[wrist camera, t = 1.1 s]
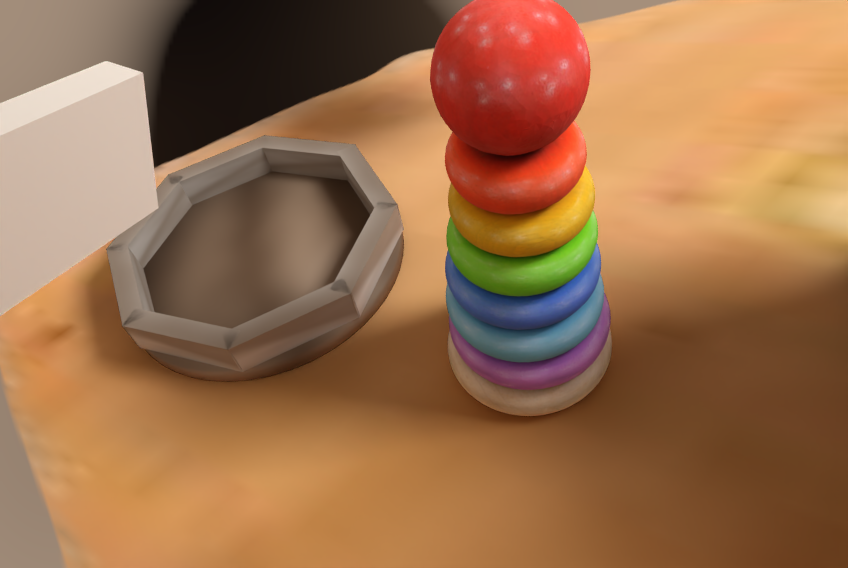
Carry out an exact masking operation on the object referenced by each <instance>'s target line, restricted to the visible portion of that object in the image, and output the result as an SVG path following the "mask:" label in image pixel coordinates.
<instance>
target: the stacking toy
mask: <svg viewBox="0 0 848 568" xmlns="http://www.w3.org/2000/svg"><path fill="white" fill-rule="evenodd" d="M589 80H590V57H589V51H588V48H587V44H586V41H585V38H584V35H583V33H582V31H581V29H580V28H579V26H578V24H577V23H576V21H575V20H574V19H573V18H572V16H571V15H570V14H569V13H568V12H567V11H566V10H565V9H564V8H563V7H561V6H560V5H559V4H557V3H556V2H554V1H552V0H474V1H472V2H470V3H469V4H467V5H466V6H465V7H463V8H462V9H461V10H460V11H459V12H458V13H456V15H454V16H453V17H452V19H451V20H449V22H448V23H447V25H446V26H445V28H444V29H443V31H442V33H441V35H440V36H439V38H438V41H437V43H436V46H435V49H434V53H433V57H432V62H431V73H430V82H431V89H432V93H433V98H434V101H435V103H436V106H437V109H438V111H439V113H440V115H441V117H442V118H443V120H444V121H445V123H446V124H447V125H448V127H449V128H450V129H451V130H452V131H453V132H452V134H451V136H450V138H449V140H448V143H447V146H446V153H445V166H446V170H447V174H448V176H449V179H450V181H451V185H450V188H449V195H448V206H449V211H450V215H451V217H450V219H449V223H448V227H447V247H448V252H447V256H446V263H445V273H446V279H447V288H446V303H447V309H448V313H449V328H450V330H449V334H448V356H449V361H450V364H451V367H452V370H453V372H454V374H455V376H456V378H457V380H458V381H459V383H460V384H461V385H462V387H463V388H464V389H465V390H466V391H467V392H468V393H469V394H470V395H471V396H472V397H474V398H475V399H476V400H478V401H479V402H481V403H482V404H484V405H486V406H488V407H490V408H492V409H494V410H497V411H500V412H503V413H507V414H512V415H519V416H537V415H545V414H550V413H554V412H557V411H560V410H563V409H565V408H568V407H570V406H572V405H574V404H575V403H577V402H578V401H580V400H582V399H583V398H584V397H585V396H587V395H588V394H589V393H590V392H591V391H592V390H593V389H594V388H595V387H596V386H597V384H598V383H599V382H600V380H601V379H602V377H603V376H604V374H605V372H606V370H607V367H608V365H609V362H610V358H611V352H612V337H611V331H610V320H611V316H610V308H609V303H608V300H607V297H606V295H605V293H604V285H603V281H602V277H601V274H600V271H601V256H600V251H599V247H598V245H597V238H598V225H597V219H596V216H595V213H594V211H593V208H594V201H595V188H594V183H593V180H592V177H591V175H590V173H589V171H588V169H587V167H586V166H585V163H586V156H587V152H586V144H585V140H584V137H583V134H582V132H581V130H580V128H579V127H578V125H577V124H576V122H575V121H574V120H575V118H576V117H577V115H578V113H579V111H580V110H581V107H582V105H583V103H584V101H585V97H586V94H587V90H588V86H589Z"/></svg>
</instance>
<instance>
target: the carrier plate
mask: <svg viewBox="0 0 848 568" xmlns="http://www.w3.org/2000/svg"><path fill="white" fill-rule="evenodd" d="M156 191H157V200H158V209H156V210H155V211H154V212H152V213H151V214H149V215H148V216H146V217H145V218H143V219H142V220H140V221H139V222H137V223H136V224H134V225H133V226H131V227H130V228H129V229H127V230H126V231H124V232H123V233H121V234H120V235H118V236H117V237H116V238H115V239H114V241H113V242H112V243H111V244H110V245H109V247H108V248H107V249H106V250H107V254H108V259H109V264H110V269H111V273H112V278H113V283H114V288H115V293H116V297H117V302H118V307H119V312H120V317H121V321H122V326H123V328H124V329H125V330H126V331H127V333H128V334H129V335H130V336H131V338H132V339H133V340H134V341H135V342H136V344H137V345H138V346H139V347H140V348H143V349H145V350H146V351H147V352H148V353H149V354H150V356H151V357H153V358H154V359H155V360H157V361H158V362H159V363H161V364H162V365H163V366H165V367H167V368H169V369H171V370H173V371H175V372H177V373H180V374H183V375H186V376H189V377H192V378H198V379H204V380H209V381H243V380H252V379H257V378H263V377H268V376H272V375H275V374H279V373H282V372H285V371H289V370H292V369H294V368H297V367H299V366H301V365H304V364H306V363H309V362H311V361H313V360H315V359H316V358H318V357H320V356H322V355H324V354H326V353H328V352H329V351H331V350H332V349H334V348H335V347H337V346H338V345H340V344H341V343H343V342H344V341H346V340H347V339H348V338H349V337H351V336H352V335H353V334H354V333H355V332H357V331H358V330H359V329H360V328H361V327H362V326H363V325H364V324H365V323H366V322H367V321H368V320H369V319H370V318H371V317H372V316H373V315H374V314H375V313H376V311H377V310H378V309H379V307H380V306H381V305H382V303H383V302H384V301H385V299H386V298H387V296H388V294H389V292H390V291H391V289H392V287H393V285H394V284H395V281H396V278H397V276H398V273H399V271H400V267H401V263H402V258H403V249H404V239H403V232H402V231H403V230H404V228H403V224H402V220H401V216H400V213H399V209H398V205H397V204H396V202H395V201H394V199H393V198H392V196H391V195H390V194H389V192H388V191H387V189H386V188H385V186H384V185H383V184H382V182H381V181H380V179H379V178H378V177H377V175H376V174H375V172H374V171H373V169H372V168H371V167H370V165H369V164H368V162H367V161H366V160H365V158H364V157H363V155H362V154H361V152H360V151H359V150H358V148H357V147H356V145H355V144H346V143H336V142H326V141H316V140H306V139H296V138H286V137H275V136H265V135H264V136H262V137H259V138H257V139H255V140H252V141H250V142H247V143H245V144H242V145H240V146H237V147H235V148H233V149H230V150H228V151H225V152H223V153H220V154H218V155H215V156H213V157H210V158H208V159H206V160H203V161H201V162H198V163H196V164H193V165H191V166H188V167H186V168H184V169H181V170H179V171H176V172H174V173H171V174H168V176H167V177H166V178H165V179H164V180H163V182H162V183H161V184H160V185H159V186H158V188H157V189H156Z"/></svg>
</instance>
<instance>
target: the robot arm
mask: <svg viewBox="0 0 848 568" xmlns="http://www.w3.org/2000/svg"><path fill="white" fill-rule="evenodd" d="M156 209H158V200H157V191H156V183H155V174H154V165H153V157H152V148H151V140H150V130H149V122H148V113H147V106H146V96H145V88H144V78H143V73H142V72H139V71H136V70H133V69H130V68H126V67H123V66H120V65H117V64H114V63H110V62H108V61H105V62H102V63H100V64H98V65H95V66H93V67H90V68H87V69H85V70H82V71H80V72H77V73H75V74H72V75H70V76H68V77H65V78H62V79H60V80H58V81H55V82H52V83H50V84H47V85H45V86H42V87H40V88H37V89H35V90H32V91H30V92H27V93H25V94H22V95H20V96H17V97H15V98H13V99H10V100H8V101H5V102H2V103H0V316H1V315H2V314H4V313H5V312H7V311H8V310H10V309H11V308H12V307H14V306H15V305H17V304H18V303H20V302H21V301H23V300H24V299H26V298H27V297H29V296H30V295H32V294H33V293H35V292H36V291H37V290H39V289H40V288H42V287H43V286H45V285H46V284H48V283H49V282H51V281H52V280H54V279H55V278H57V277H58V276H59V275H61V274H62V273H64V272H65V271H67V270H68V269H70V268H71V267H73V266H74V265H76V264H77V263H79V262H80V261H82V260H83V259H84V258H86V257H87V256H89V255H90V254H92V253H93V252H95V251H96V250H98V249H99V248H101V247H102V246H104V245H105V244H106V243H108V242H109V241H111V240H112V239H114V238H115V237H117V236H118V235H120V234H121V233H123V232H124V231H126V230H127V229H129V228H130V227H131V226H133V225H134V224H136V223H137V222H139V221H140V220H142V219H143V218H145V217H146V216H148V215H149V214H151V213H152V212H154V211H155V210H156Z"/></svg>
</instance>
